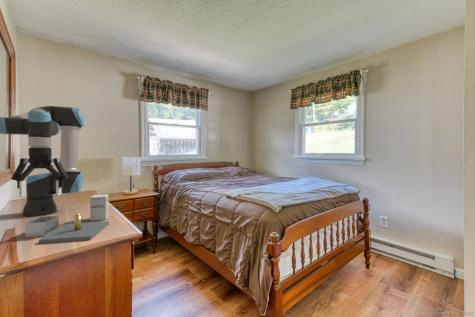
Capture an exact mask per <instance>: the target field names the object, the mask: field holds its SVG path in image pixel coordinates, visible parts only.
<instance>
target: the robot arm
mask: <svg viewBox="0 0 475 317" xmlns="http://www.w3.org/2000/svg"><path fill="white" fill-rule="evenodd" d="M84 119H85V117H84V114H83V111H82V110H81V108H78V107H70V106H55V105H46V106H45V105H44V106H39V107H34V108H32V109H30V110H28V112H25V113H20V114H18V115H14V116H10V117H9V116H8V117H6V116H0V135H22V136H23V135H24V136H25V135H26V136H28V137H27V139H28V146H29V148H28V150H27V151H28V156H29V157H23V158H20V159H19V163H18V165H17V167H16V169H15V171H14V172H13V174H12V176H11V179H10V180H12V181H16V182H17V187H16V188H17V189H18V191H19V197H26V202H25V204H24V206H23V209H22V216H23V217H36V216H43V215H44V216H45V215H49V214H53V213H55V212H58V206H57V203H56V202H55V199H54V195H55V196H61V195H62V194H64V195H65V194H67V195H68V194H71V195H72V194H76V193H79V192H81V191H82V188H83V185H84V179H85V178H84V174H83V173H81V170H80V169H78V168H79V167H78V162H79V161H78V160H79V158H78V157H79V155H78V154H79V132H80V131H81V130H82V128H83V127H85V120H84ZM59 133H60V154H59V155H60V156H59V157H60V158H59V157H57V158H56V157H55V158H52V155H53V154H52V148H51V147H52V145H53V144H52V143H53V142H52V136H57V135H58V134H59ZM52 163H53V164H54V166H55V168H56V169H55V168H54V166H53V164H52ZM27 164H29V165H28V166H27ZM26 166H27V167H26ZM37 169H46V170H47V171H49V172H45V173H37V174H32V175H30V174H31V173H32V172H33V171H34V170H37Z"/></svg>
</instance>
